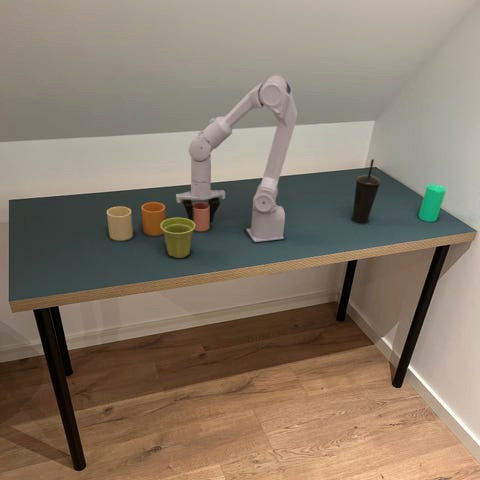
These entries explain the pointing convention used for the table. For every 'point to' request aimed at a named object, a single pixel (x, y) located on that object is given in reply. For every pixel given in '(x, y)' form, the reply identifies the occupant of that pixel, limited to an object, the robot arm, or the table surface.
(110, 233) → the cream cup
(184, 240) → the plant pot
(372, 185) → the drinking cup
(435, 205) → the candle
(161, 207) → the ochre cup
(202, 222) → the rose cup
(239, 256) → the table surface
